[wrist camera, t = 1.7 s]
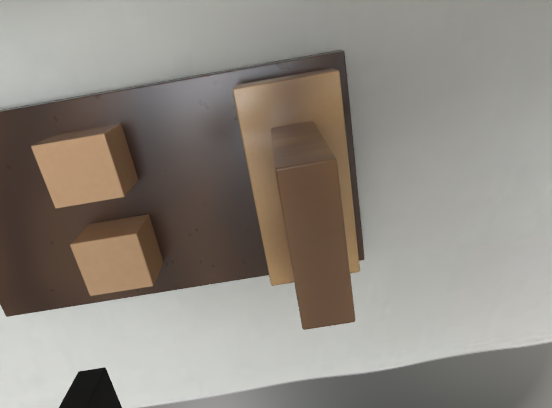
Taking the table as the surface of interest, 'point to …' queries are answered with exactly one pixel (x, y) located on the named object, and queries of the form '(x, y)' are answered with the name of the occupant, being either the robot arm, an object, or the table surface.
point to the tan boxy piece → (86, 165)
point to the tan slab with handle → (302, 189)
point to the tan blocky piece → (118, 255)
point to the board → (145, 185)
